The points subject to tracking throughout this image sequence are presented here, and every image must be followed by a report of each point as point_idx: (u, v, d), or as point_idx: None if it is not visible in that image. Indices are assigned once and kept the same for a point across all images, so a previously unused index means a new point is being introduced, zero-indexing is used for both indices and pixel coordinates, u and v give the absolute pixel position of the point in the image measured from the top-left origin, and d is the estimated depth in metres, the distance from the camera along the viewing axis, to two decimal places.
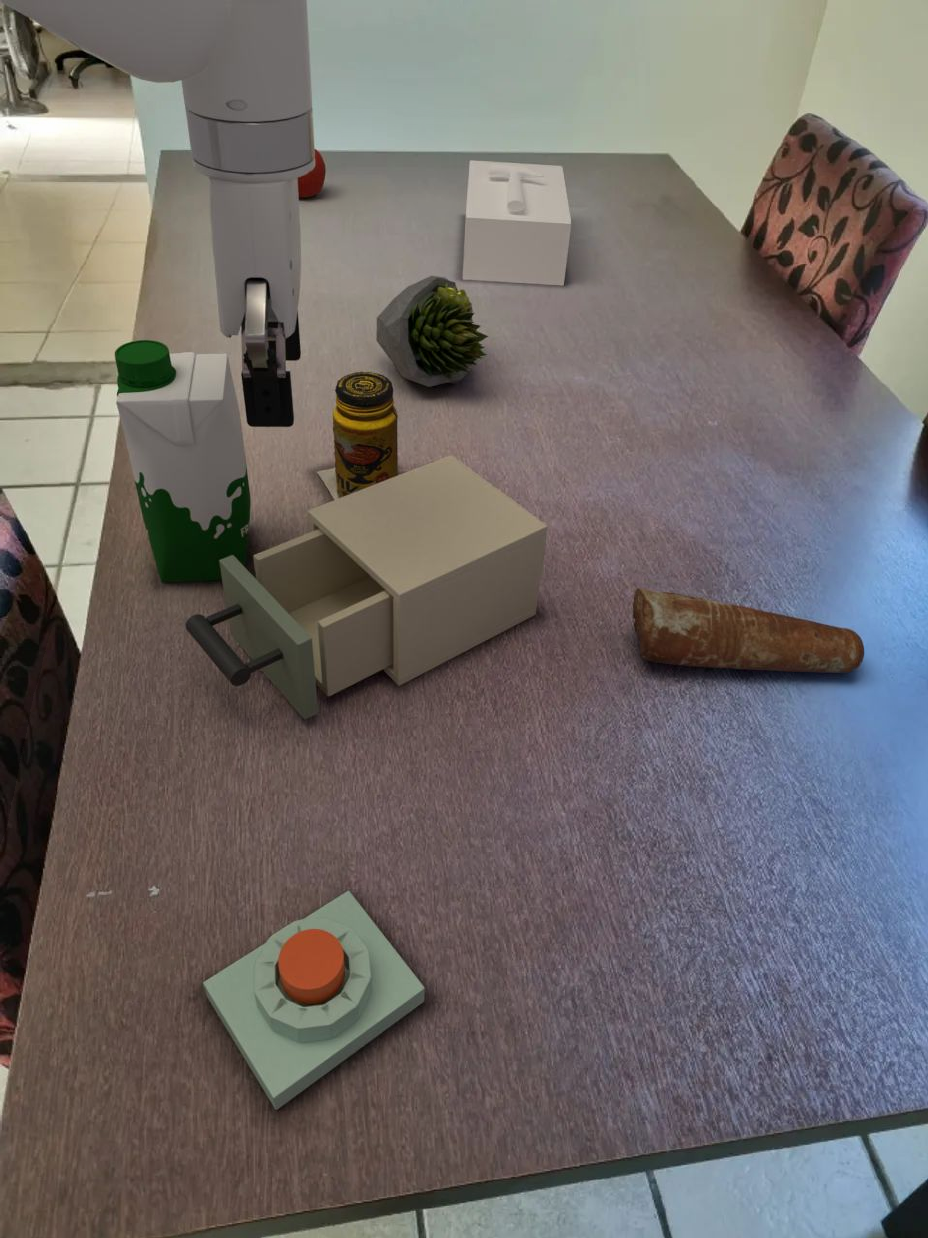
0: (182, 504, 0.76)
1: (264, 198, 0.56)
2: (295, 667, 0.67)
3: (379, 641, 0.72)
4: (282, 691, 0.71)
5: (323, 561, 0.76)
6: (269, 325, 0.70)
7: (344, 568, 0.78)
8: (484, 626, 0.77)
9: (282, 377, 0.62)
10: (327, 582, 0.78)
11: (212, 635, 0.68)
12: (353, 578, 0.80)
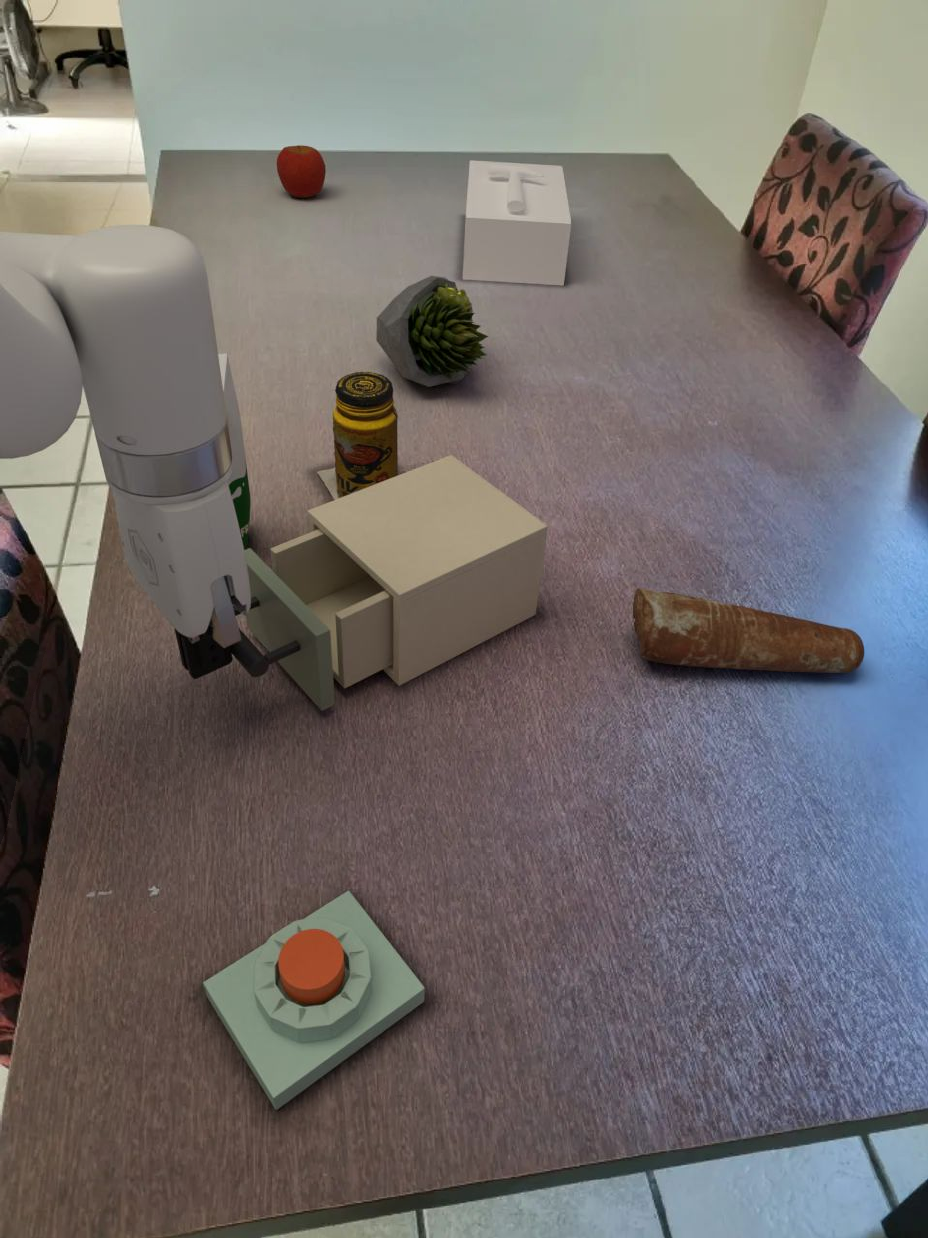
0: None
1: (219, 507, 0.55)
2: (312, 658, 0.68)
3: None
4: (299, 683, 0.72)
5: (338, 554, 0.77)
6: None
7: None
8: (484, 626, 0.77)
9: None
10: (342, 575, 0.79)
11: None
12: None
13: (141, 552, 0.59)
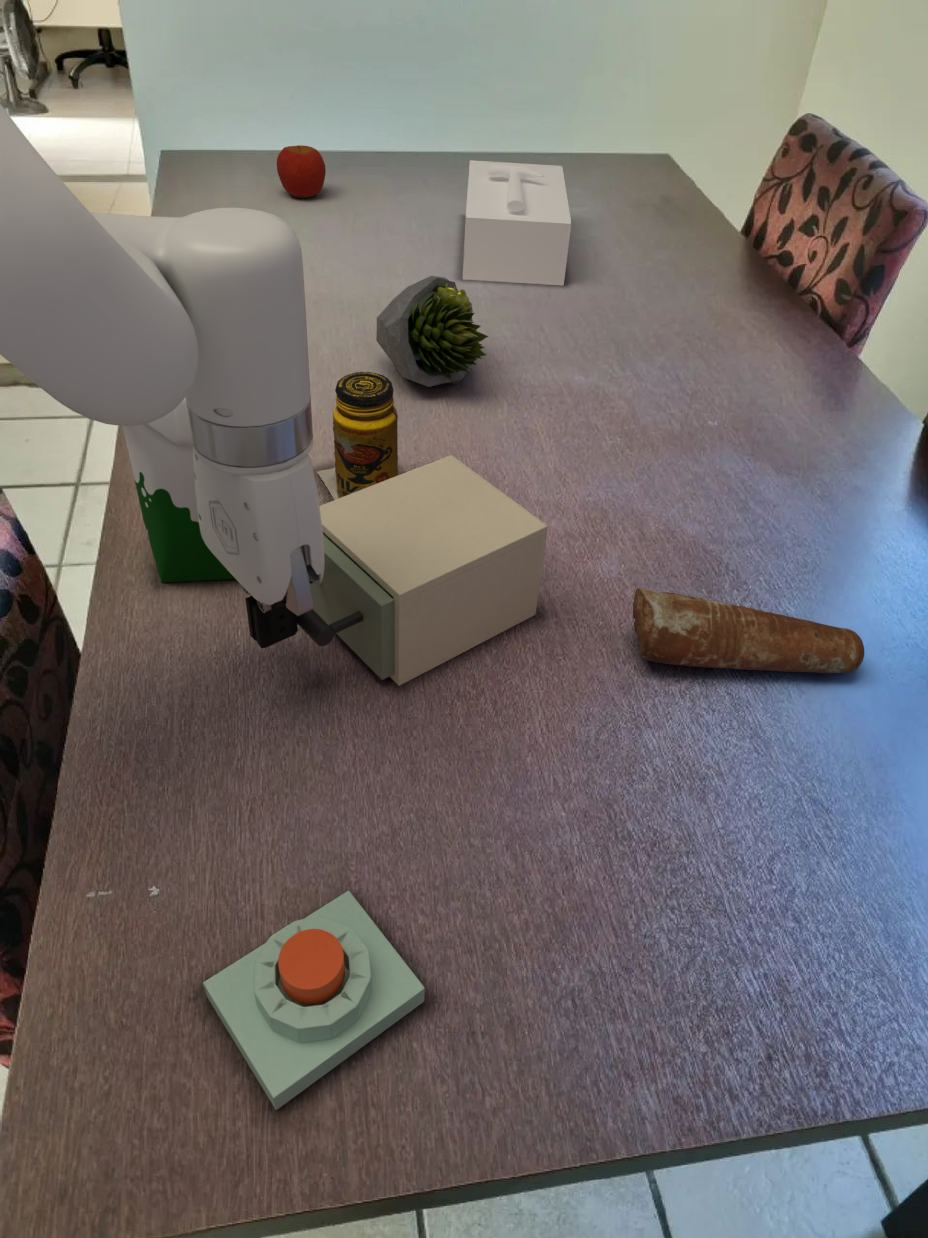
0: (182, 504, 0.76)
1: (302, 478, 0.58)
2: (376, 628, 0.70)
3: None
4: (359, 653, 0.75)
5: None
6: None
7: None
8: (484, 626, 0.77)
9: None
10: None
11: None
12: None
13: (222, 522, 0.62)
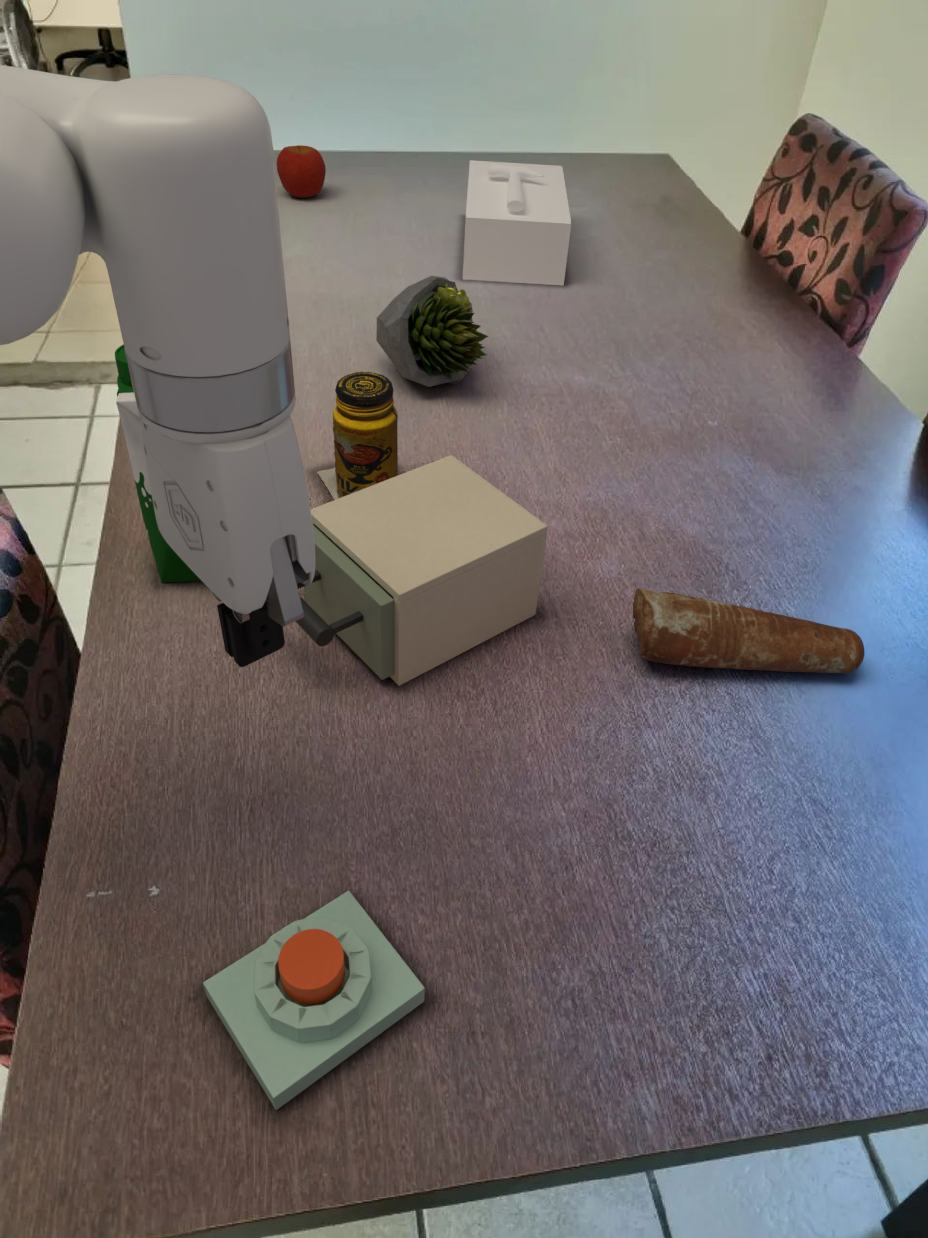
0: None
1: (282, 447, 0.44)
2: (376, 628, 0.70)
3: None
4: (359, 653, 0.75)
5: None
6: None
7: None
8: (484, 626, 0.77)
9: None
10: None
11: None
12: None
13: (181, 509, 0.48)
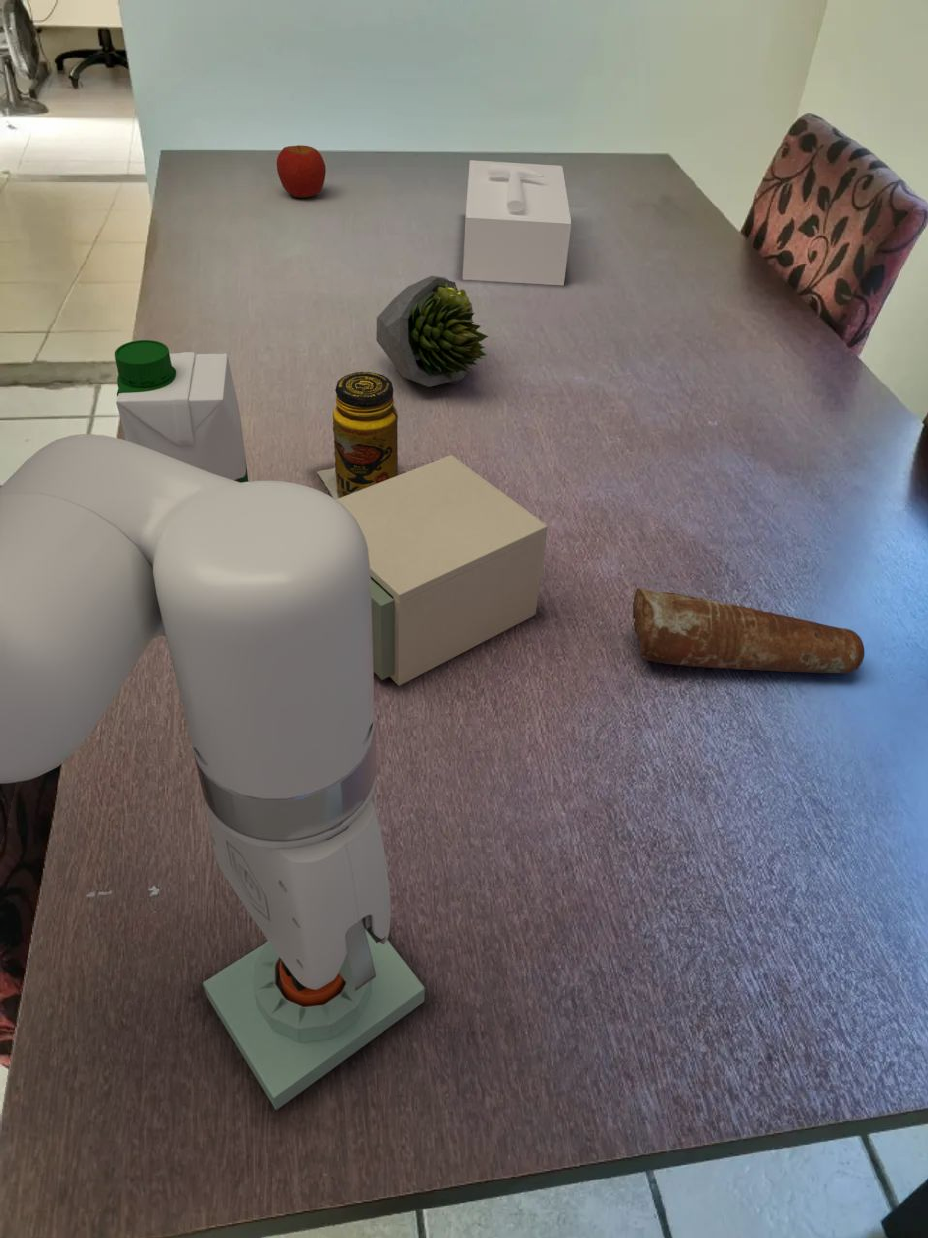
0: None
1: (364, 842, 0.40)
2: (376, 628, 0.70)
3: None
4: None
5: None
6: None
7: None
8: (484, 626, 0.77)
9: None
10: None
11: None
12: None
13: (245, 875, 0.43)
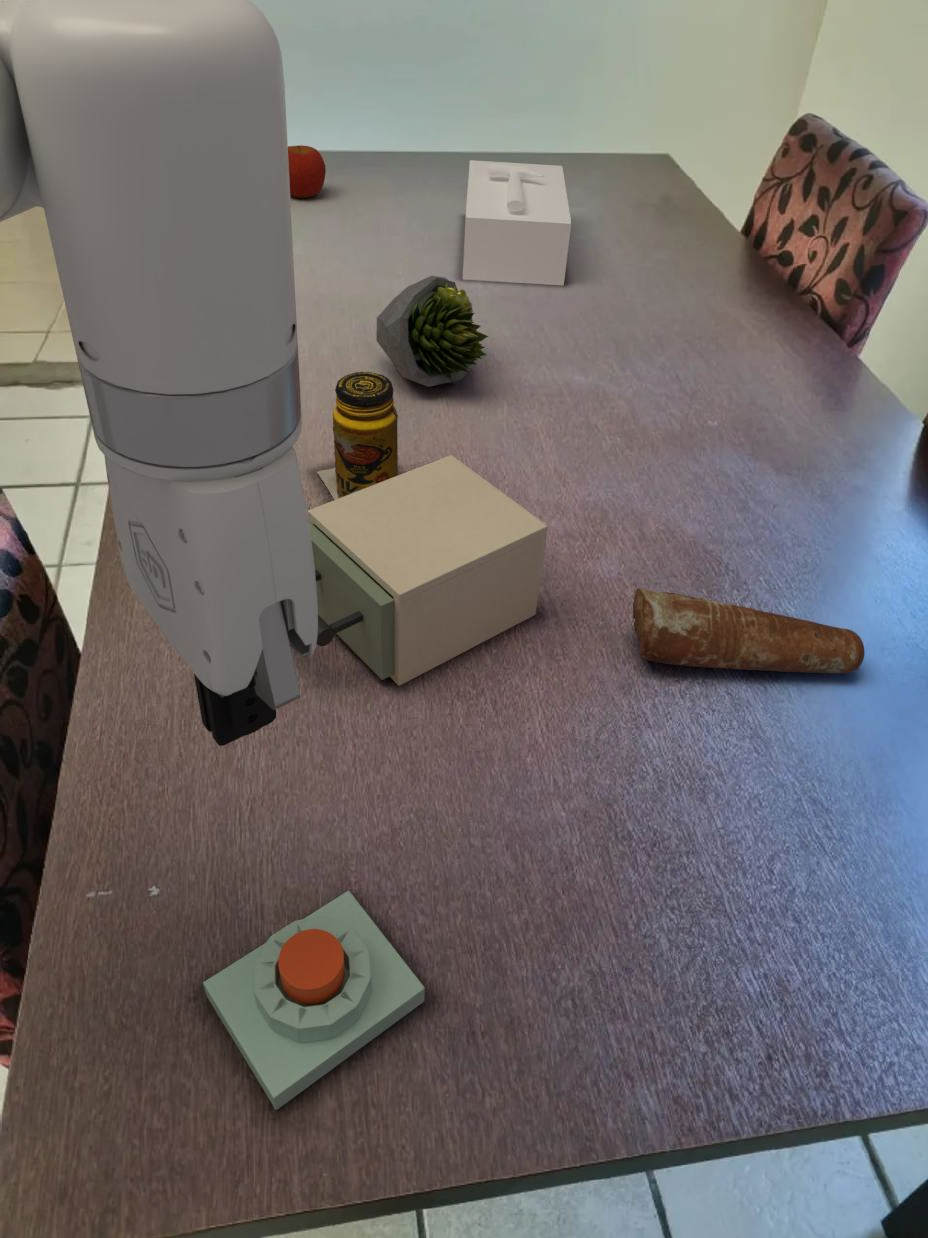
0: None
1: (281, 489, 0.34)
2: (376, 628, 0.70)
3: None
4: (359, 653, 0.75)
5: None
6: None
7: None
8: (484, 626, 0.77)
9: None
10: None
11: None
12: None
13: (148, 558, 0.37)
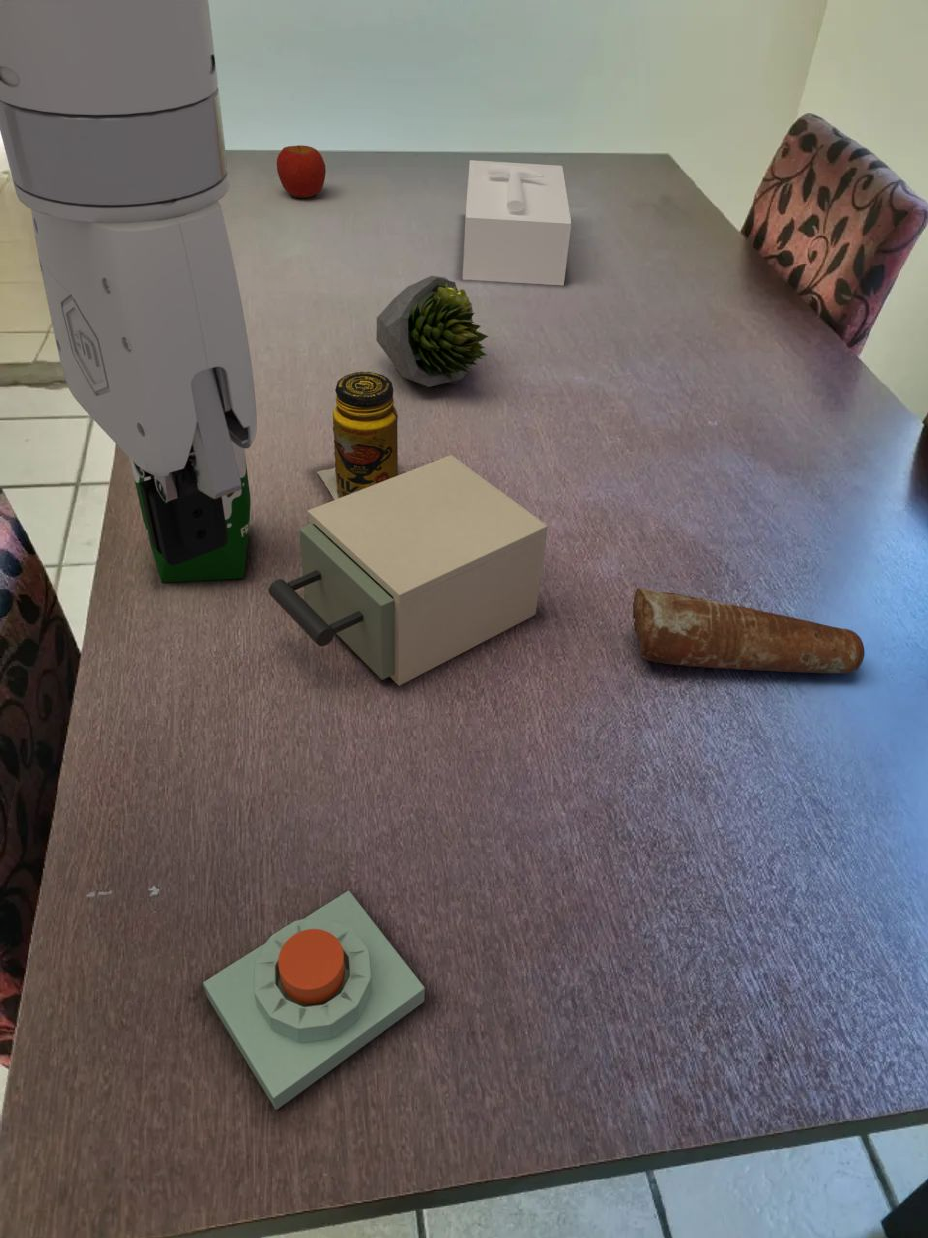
0: None
1: (205, 237, 0.33)
2: (376, 628, 0.70)
3: None
4: (359, 653, 0.75)
5: None
6: None
7: None
8: (484, 626, 0.77)
9: None
10: None
11: (296, 598, 0.72)
12: None
13: (81, 337, 0.37)
